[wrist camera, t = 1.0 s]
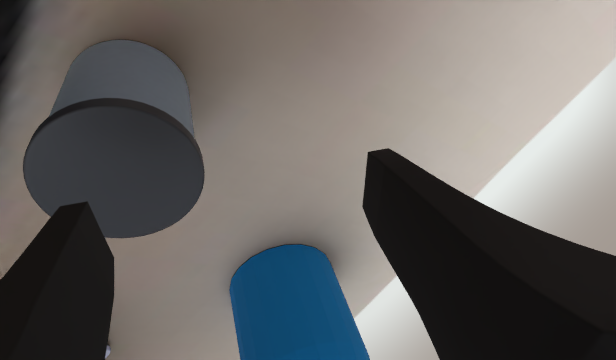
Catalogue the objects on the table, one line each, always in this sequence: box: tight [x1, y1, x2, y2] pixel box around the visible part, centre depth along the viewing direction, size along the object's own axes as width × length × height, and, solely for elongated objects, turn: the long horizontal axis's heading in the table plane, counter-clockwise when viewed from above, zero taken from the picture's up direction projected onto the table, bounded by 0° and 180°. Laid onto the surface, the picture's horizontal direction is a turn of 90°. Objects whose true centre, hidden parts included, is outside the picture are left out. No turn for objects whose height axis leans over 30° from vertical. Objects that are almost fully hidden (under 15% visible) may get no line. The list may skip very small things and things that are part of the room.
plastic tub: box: [23, 40, 204, 238], centre depth 16 cm, size 5×5×6 cm
